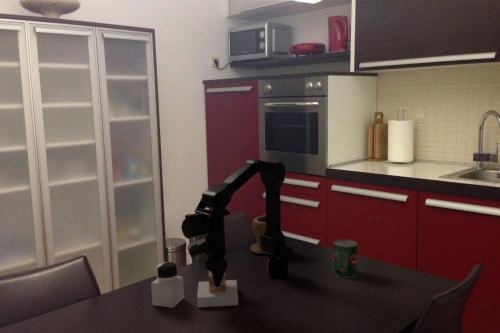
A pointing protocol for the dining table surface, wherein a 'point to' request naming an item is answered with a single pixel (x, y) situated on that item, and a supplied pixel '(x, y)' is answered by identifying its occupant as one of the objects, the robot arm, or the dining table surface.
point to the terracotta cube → (212, 285)
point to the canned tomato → (345, 258)
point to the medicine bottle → (167, 286)
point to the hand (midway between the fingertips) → (217, 280)
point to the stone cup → (258, 232)
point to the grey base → (217, 295)
